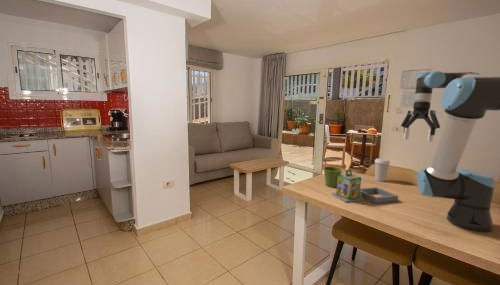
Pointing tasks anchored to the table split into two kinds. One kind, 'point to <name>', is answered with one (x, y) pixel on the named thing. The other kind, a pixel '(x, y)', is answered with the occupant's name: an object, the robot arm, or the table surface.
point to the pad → (348, 199)
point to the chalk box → (348, 185)
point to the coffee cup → (381, 169)
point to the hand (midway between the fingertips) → (417, 140)
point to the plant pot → (331, 176)
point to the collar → (385, 195)
